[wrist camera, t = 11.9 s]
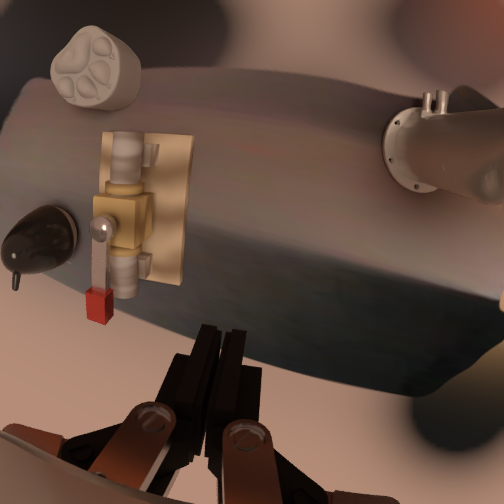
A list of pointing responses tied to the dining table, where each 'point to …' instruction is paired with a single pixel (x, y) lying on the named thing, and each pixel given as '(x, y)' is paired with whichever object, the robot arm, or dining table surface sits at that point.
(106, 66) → the lumpy-topped squat cylinder
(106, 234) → the valve lever
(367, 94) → the dining table surface
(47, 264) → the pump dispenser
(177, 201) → the valve bench
